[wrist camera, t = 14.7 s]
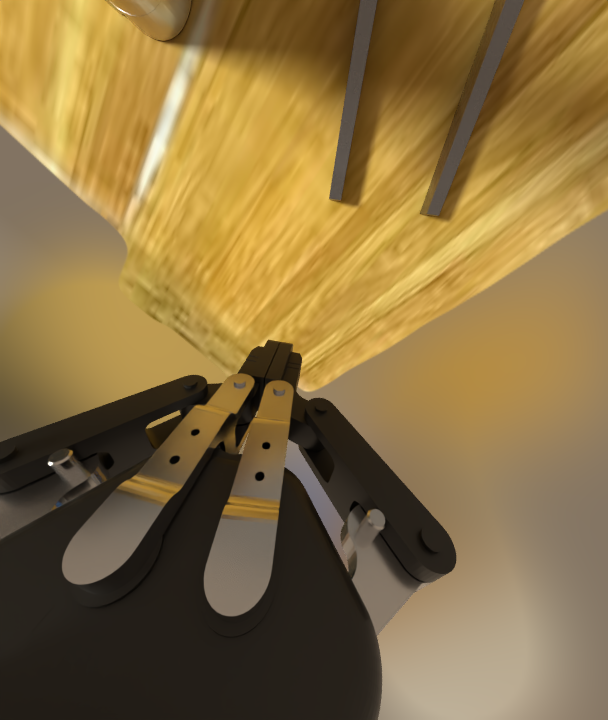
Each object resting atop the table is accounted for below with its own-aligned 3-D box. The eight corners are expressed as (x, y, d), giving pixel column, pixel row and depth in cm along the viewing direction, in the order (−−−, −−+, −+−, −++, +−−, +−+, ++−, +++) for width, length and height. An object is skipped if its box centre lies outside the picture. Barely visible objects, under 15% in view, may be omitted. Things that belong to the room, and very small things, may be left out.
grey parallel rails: (329, 199, 33) (328, 198, 30) (370, -59, 21) (374, -97, 19) (431, 215, 32) (439, 215, 30) (528, -40, 21) (555, -75, 18)
